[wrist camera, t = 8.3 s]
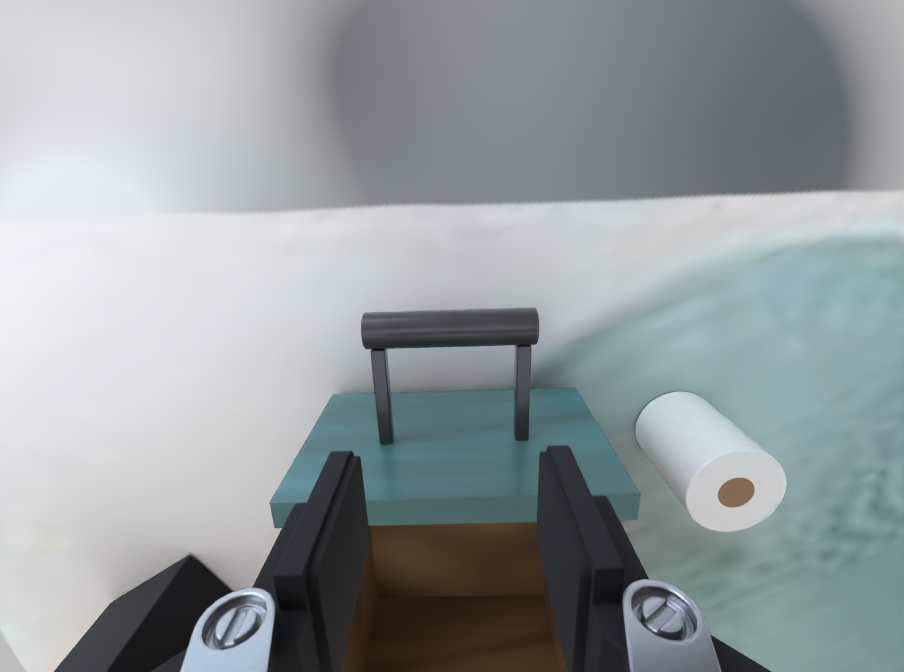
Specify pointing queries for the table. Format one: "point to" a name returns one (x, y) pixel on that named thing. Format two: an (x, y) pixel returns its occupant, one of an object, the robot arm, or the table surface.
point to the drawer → (454, 501)
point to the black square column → (147, 622)
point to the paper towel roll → (709, 462)
